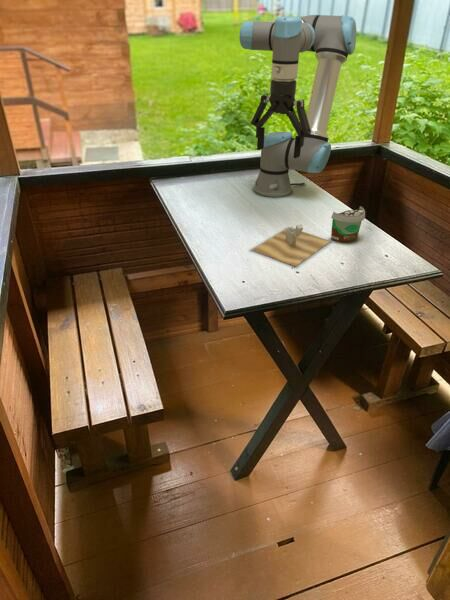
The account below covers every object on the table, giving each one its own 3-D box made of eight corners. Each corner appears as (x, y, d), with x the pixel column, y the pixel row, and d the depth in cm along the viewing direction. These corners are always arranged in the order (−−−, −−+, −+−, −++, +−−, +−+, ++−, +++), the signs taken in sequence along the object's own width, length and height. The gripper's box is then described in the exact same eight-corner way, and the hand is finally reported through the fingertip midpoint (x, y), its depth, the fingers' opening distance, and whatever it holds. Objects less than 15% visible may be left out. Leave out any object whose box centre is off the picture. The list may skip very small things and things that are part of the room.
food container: (339, 247, 143) (344, 219, 138) (327, 240, 148) (332, 212, 142) (368, 240, 148) (374, 212, 142) (355, 233, 152) (361, 205, 147)
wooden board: (288, 228, 155) (289, 227, 155) (329, 241, 147) (330, 241, 146) (252, 250, 140) (252, 249, 140) (295, 266, 132) (295, 266, 132)
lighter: (285, 240, 146) (287, 218, 142) (289, 239, 147) (292, 217, 142) (295, 250, 141) (298, 226, 136) (300, 249, 141) (303, 226, 137)
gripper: (241, 76, 133) (239, 148, 145) (315, 86, 120) (306, 163, 132) (255, 73, 137) (252, 143, 150) (328, 82, 125) (318, 157, 137)
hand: (278, 153), depth 141 cm, fingers open, 13 cm apart
